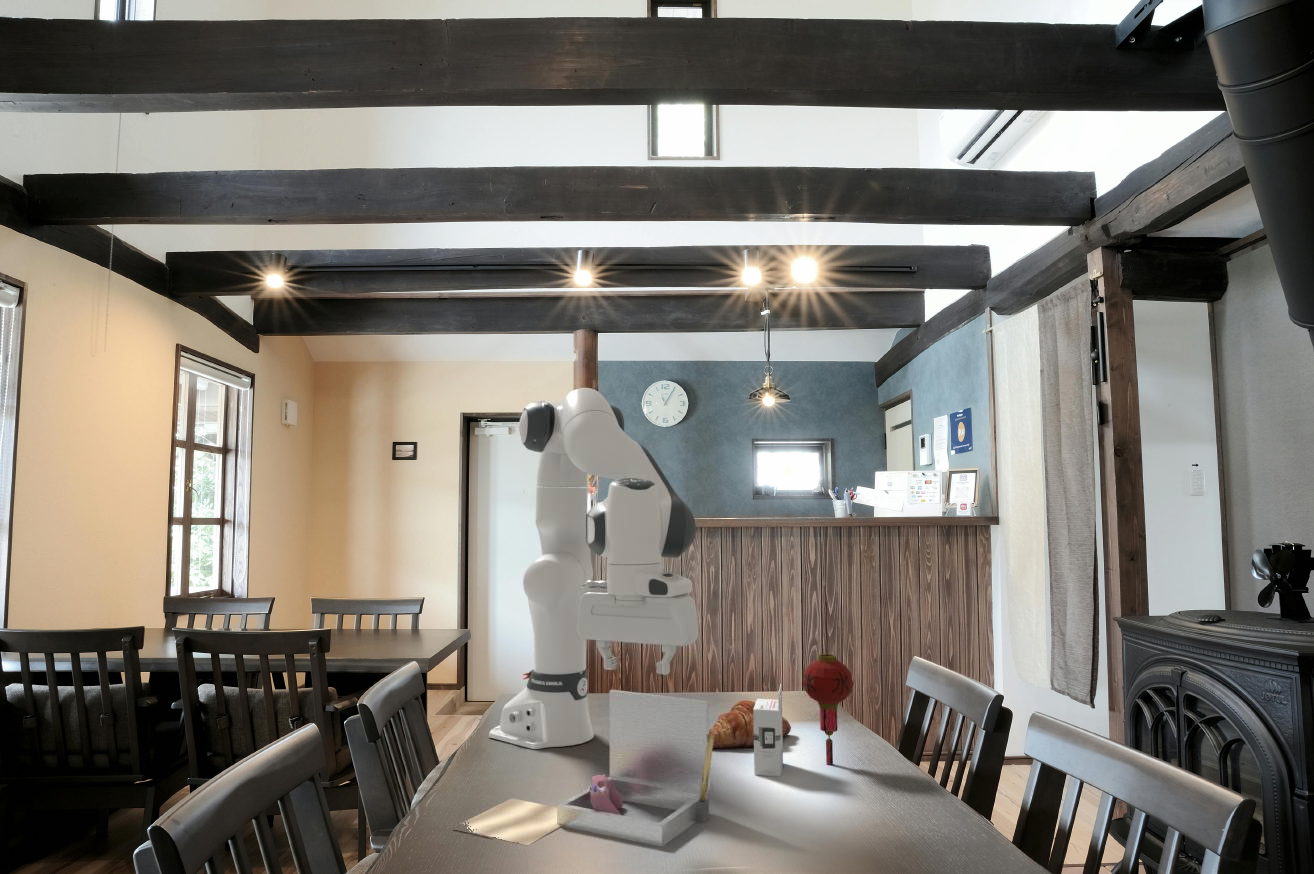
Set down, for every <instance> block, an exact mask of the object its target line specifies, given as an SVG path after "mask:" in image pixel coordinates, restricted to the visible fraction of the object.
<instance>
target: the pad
mask: <svg viewBox="0 0 1314 874" xmlns="http://www.w3.org/2000/svg"><path fill="white" fill-rule="evenodd" d="M467 821H468V822H469V824H468V822H467ZM464 822H466V824H467V825H469V826H468V827H469V828H470V829H471V830H472V831H473V829H474V831H473V833H477V834H480V835H484V836H488V837H496V838H497V839H496V840H500V839H502V840H501V841H504V840H505V841H506V842H509V843H513V842H515V843H514V844H517V842H519V844H518V845H521V846H522V845H523V846H526V845H527V847H528V846H530V845H532V844H533V843H535V842H537V841H538V840H541V839H542V838H544V837H546V836H548V835H549V834H551V833H553V832H555V831H556V830H558V829H560V828H561V827H564V826H563V825H561V824H557V806H552V805H546V804H541V803H536V802H532V801H528V800H527V801H526V800H521V799H519V798H518V799H517V798H513V797H511V798H510V799H507V800H505V801H504V802H502V803H499V804H498V805H495V806H493V807H491V808H489V809H487V810H485V811H483V812H482V813H479V814H478V815H475V816H473V817H471V818H469V819H466V820H465V821H463V822H461V823H460V824H462V823H463V824H464V825H465V823H464ZM470 826H471V827H470ZM468 827H467V829H468ZM476 829H477V830H476ZM469 831H470V830H469ZM470 832H471V831H470ZM498 837H499V838H498ZM505 841H504V842H505Z"/></svg>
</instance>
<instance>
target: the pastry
mask: <svg viewBox="0 0 1314 874" xmlns="http://www.w3.org/2000/svg"><path fill="white" fill-rule="evenodd" d="M755 703H756V701H752V700H747V699H746V700H740V701H738V702H737V703H735V704H734V705H733V706H732V707H731V710H729V712H728V711H727V712H723V713H722V714H720V715H719V716H718V718H717V721H716V722H715V723H714V724H713V726H712V727H711V728H709V734H713V735H714V743H713V749H736V748H741V747H742V748H754V716H753V709H754V706H755ZM791 730H792V726H791V723H789V721H788V720H787V719H786V718H785V717H783V716H782V735H783V738H784V737H785V736H788V735H789V734H790V733H791Z"/></svg>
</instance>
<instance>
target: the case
mask: <svg viewBox="0 0 1314 874" xmlns="http://www.w3.org/2000/svg"><path fill="white" fill-rule="evenodd" d="M709 729H710V701H709V700H703V699H702V700H701V699H696V698H695V699H694V698H685V697H677V696H669V695H659V694H652V693H645V692H634V691H626V690H619V689H610V690H609V776H607V777H608V779H609V781H610V782H611V784H612V785H613V787H614V788H615V789H616V790H617V791H618V793H619V794H620V795H621V797H622V799H623V802H630V803H635V804H640V805H646V806H651V807H656V808H662V809H668V810H673V812H672V813H670V814H669V815H668V816H667V817H666V818H663V820H661V821H659V822H656V821H652V820H650V821H649V820H647V819H646V820H645V819H641V818H635V817H630V816H627V815H622V814H621V815H617V814H612V813H607V812H602V811H597V810H594V808H593V806H592V802H591V794H590V791H589V787H588V788H586V789H584V790H582V791H581V792H578V793H577V794H575V795H573V796H572V797H570V798H568V799H566V800H564V801H562V802H561V803H558V804H557V805H556V807H557V824H561V825H563V826H562V827H565V828H570V829H575V830H580V831H583V832H589V833H593V834H599V835H603V836H607V837H612V838H618V839H622V840H627V841H628V840H629V841H633V842H637V843H641V844H648V845H652V846H658V847H664V846H665V845H666V844H667V843H670V842H671V841H672V840H673V839H675V838H676V837H677V836H679V835H680V834H681V833H683V832H685V830H687V829H688V828H690V827H691V826H692V825H694V824H695V823H701V824H704V823H705V822H707V821H708V820H709V819H710V812H709V811H710V799H709V798H708V794H709V793H710V792H711V764H712V757H713V749H714V748H713V743H714V735H713V734H709Z"/></svg>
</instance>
